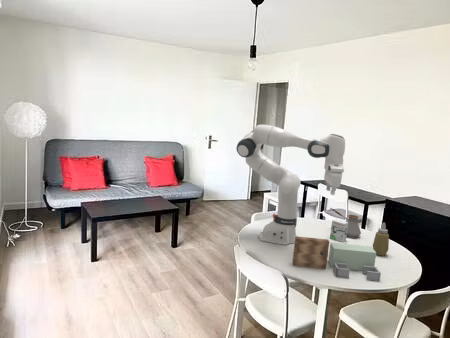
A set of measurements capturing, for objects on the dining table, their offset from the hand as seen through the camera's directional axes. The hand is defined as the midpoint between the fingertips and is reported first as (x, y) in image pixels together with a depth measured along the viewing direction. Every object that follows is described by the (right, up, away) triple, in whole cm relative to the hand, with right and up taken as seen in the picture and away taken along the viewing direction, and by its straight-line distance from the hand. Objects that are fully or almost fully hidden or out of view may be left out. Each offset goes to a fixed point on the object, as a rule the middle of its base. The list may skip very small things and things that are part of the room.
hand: (330, 192), depth 171 cm
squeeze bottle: (+32, -35, +13) cm, 49 cm away
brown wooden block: (-13, -36, -7) cm, 39 cm away
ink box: (+15, -31, +32) cm, 47 cm away
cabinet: (+8, -37, -10) cm, 39 cm away
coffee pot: (+22, -30, +43) cm, 57 cm away
